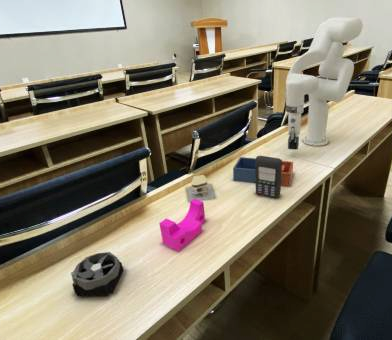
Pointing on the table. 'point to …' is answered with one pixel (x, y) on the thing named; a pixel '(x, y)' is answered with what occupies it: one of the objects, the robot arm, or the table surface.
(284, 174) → the terracotta bin
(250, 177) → the slate bin
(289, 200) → the table surface
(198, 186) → the stacked layers on plate
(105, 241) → the table surface
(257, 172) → the card reader
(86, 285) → the cpu cooler
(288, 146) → the slate block
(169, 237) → the toy block
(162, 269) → the table surface
